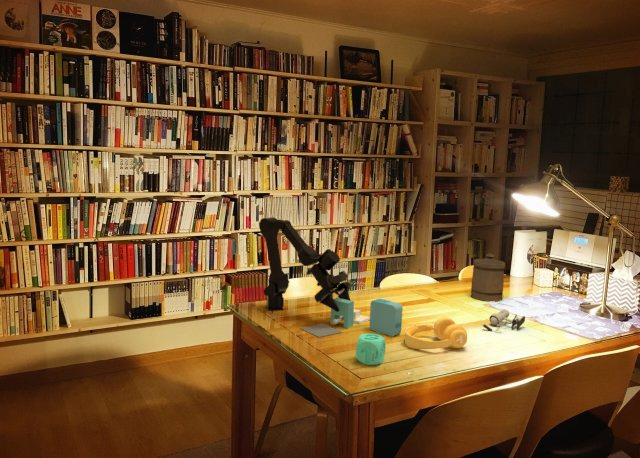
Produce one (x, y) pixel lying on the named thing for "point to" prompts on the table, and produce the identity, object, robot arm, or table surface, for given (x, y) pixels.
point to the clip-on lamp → (502, 315)
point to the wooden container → (488, 279)
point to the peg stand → (354, 318)
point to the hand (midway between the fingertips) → (345, 308)
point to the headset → (437, 335)
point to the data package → (386, 317)
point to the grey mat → (321, 330)
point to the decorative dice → (370, 349)
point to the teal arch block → (343, 312)
